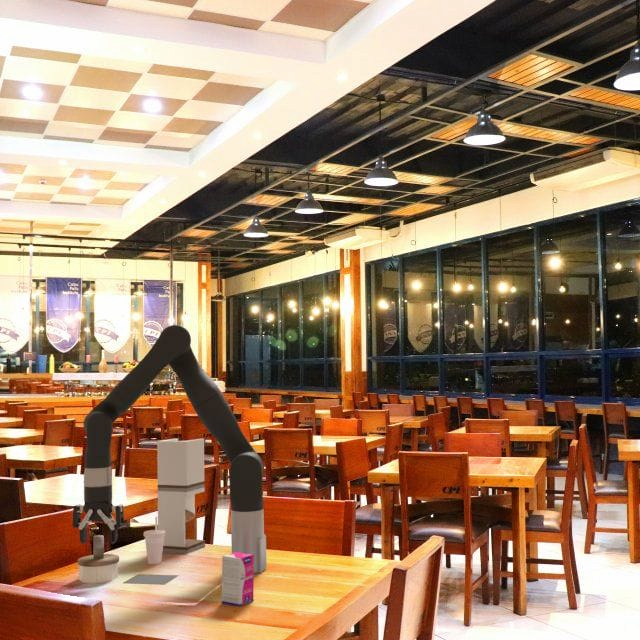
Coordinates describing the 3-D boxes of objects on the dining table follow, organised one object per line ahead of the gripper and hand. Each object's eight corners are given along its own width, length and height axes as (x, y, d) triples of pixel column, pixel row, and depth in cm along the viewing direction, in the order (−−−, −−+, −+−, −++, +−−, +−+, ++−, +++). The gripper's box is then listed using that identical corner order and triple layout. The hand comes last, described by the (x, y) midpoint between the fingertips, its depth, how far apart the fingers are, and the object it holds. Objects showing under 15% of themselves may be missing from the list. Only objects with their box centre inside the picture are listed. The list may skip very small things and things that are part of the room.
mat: (178, 577, 229) (178, 575, 229) (164, 586, 219) (164, 584, 219) (138, 576, 231) (138, 574, 231) (122, 585, 221) (122, 583, 221)
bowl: (122, 576, 231) (122, 558, 231) (106, 585, 221) (106, 566, 222) (90, 575, 233) (90, 557, 233) (73, 584, 223) (73, 565, 224)
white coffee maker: (187, 553, 259) (186, 441, 262) (158, 551, 263) (157, 441, 265) (205, 546, 270) (203, 438, 272) (176, 544, 274) (175, 438, 276)
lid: (125, 558, 232) (125, 532, 232) (108, 567, 221) (108, 540, 221) (89, 557, 234) (89, 532, 234) (70, 566, 223) (70, 539, 224)
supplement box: (240, 607, 198) (239, 558, 199) (221, 603, 202) (220, 555, 202) (254, 601, 203) (254, 553, 204) (235, 598, 206) (235, 551, 207)
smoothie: (163, 567, 242) (162, 518, 243) (141, 567, 242) (141, 518, 243) (167, 562, 248) (167, 514, 249) (146, 562, 248) (146, 515, 249)
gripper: (127, 482, 231) (128, 541, 230) (80, 482, 234) (81, 540, 233) (116, 485, 224) (116, 546, 223) (67, 485, 226) (67, 545, 225)
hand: (98, 543), depth 228 cm, fingers open, 8 cm apart
